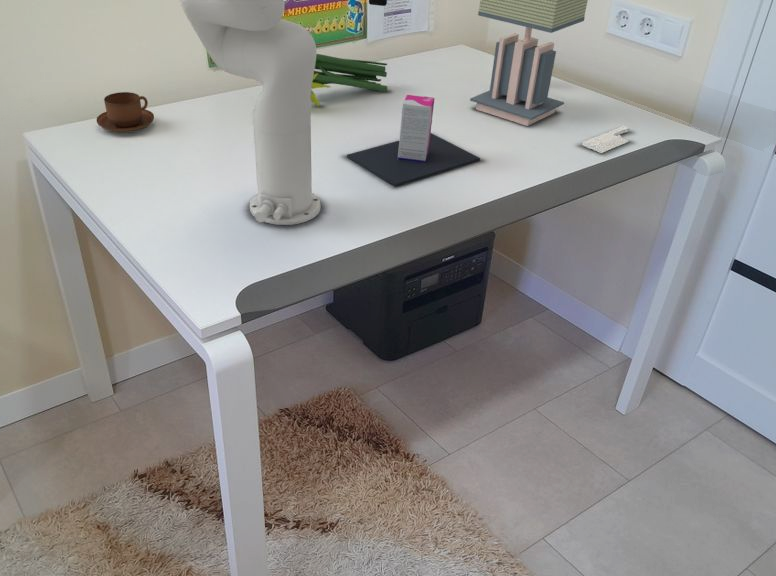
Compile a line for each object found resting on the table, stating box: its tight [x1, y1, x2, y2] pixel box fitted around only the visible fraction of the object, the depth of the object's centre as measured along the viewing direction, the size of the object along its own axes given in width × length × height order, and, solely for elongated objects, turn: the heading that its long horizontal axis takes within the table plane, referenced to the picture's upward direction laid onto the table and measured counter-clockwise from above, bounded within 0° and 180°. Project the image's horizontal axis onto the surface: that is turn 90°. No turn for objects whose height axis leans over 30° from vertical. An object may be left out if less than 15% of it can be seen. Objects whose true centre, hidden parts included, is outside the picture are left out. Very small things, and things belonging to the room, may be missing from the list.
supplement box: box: [397, 94, 436, 163], centre depth 143 cm, size 6×6×12 cm
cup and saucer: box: [96, 91, 155, 133], centre depth 155 cm, size 12×12×6 cm
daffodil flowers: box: [282, 16, 388, 107], centre depth 169 cm, size 17×15×35 cm
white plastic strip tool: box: [581, 125, 630, 154], centre depth 157 cm, size 5×15×1 cm, turn 130°
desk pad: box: [346, 132, 481, 188], centre depth 147 cm, size 22×16×1 cm
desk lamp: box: [469, 0, 589, 127], centre depth 160 cm, size 18×14×33 cm
